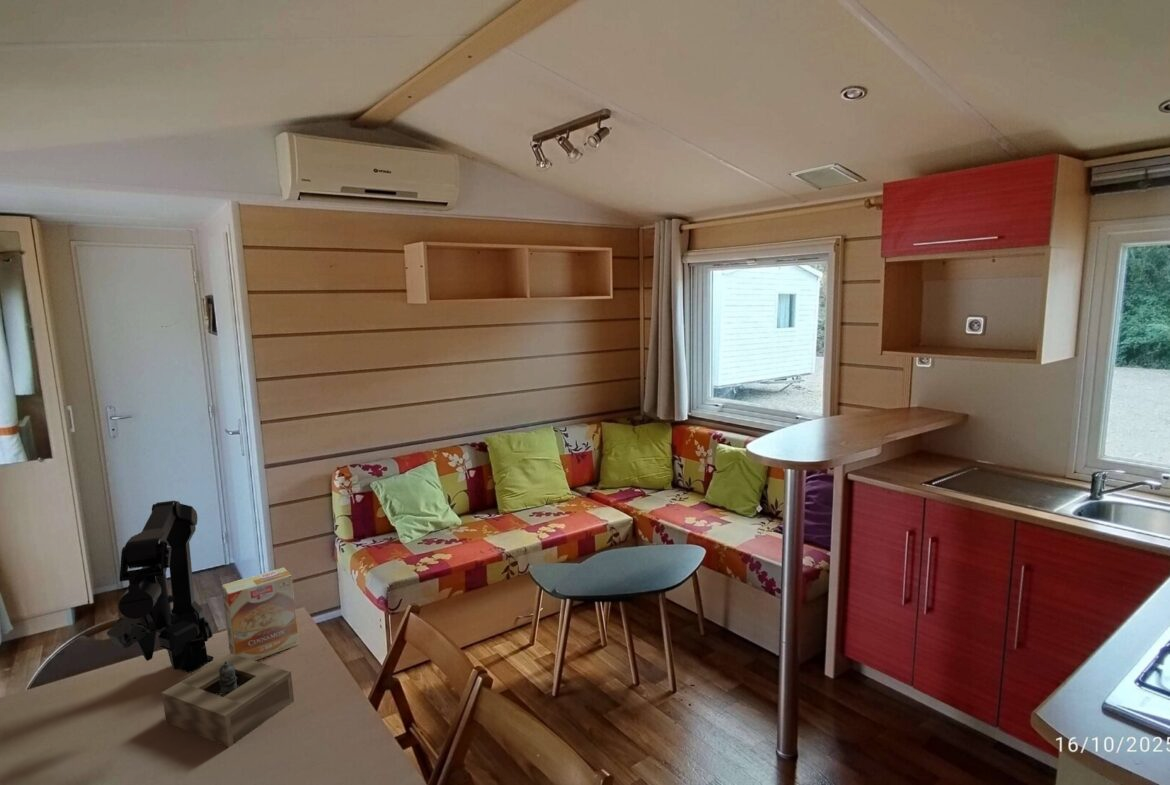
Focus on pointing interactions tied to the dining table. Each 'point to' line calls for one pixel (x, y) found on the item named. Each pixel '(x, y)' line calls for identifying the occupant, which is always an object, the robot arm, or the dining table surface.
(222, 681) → the grey chess piece
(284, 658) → the dining table surface
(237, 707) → the beige rectangular hollow block
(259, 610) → the coffeecake box
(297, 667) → the dining table surface
